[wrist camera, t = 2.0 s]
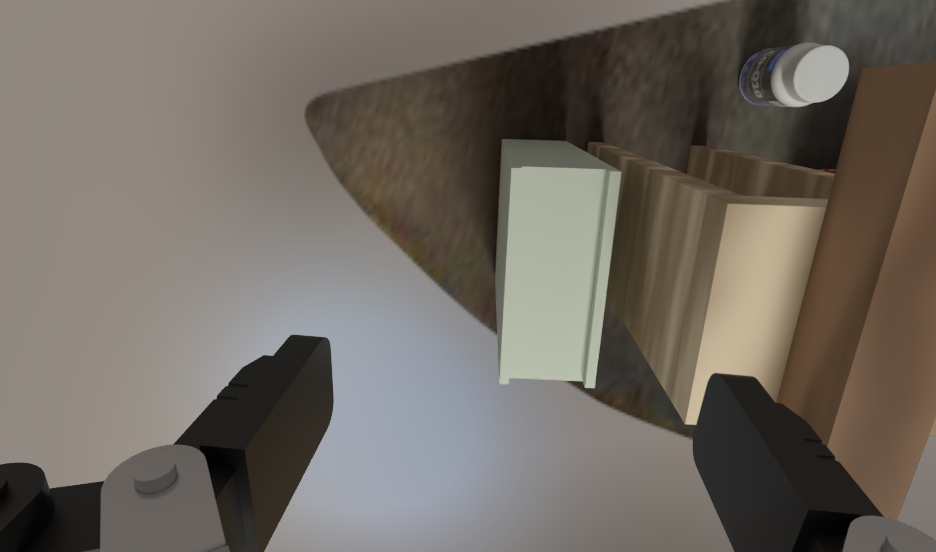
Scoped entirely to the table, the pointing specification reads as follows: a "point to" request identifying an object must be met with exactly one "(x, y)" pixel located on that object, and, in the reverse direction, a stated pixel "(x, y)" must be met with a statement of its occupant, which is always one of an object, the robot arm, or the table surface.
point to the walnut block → (875, 291)
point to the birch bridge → (713, 264)
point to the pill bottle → (794, 75)
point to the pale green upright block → (552, 259)
